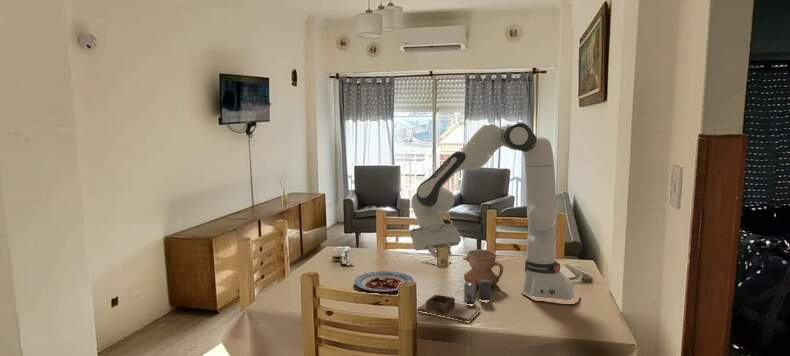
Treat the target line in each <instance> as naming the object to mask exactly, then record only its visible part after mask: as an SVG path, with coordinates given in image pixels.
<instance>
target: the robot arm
mask: <svg viewBox="0 0 790 356" xmlns="http://www.w3.org/2000/svg"><path fill="white" fill-rule="evenodd" d="M501 147H506V148H507V149H510V150H514V151H520V152H522V153H523V155H524V166H525V167H524V168H525V169H524V170H525V183H526V184H525V186H526V188H525V189H526V192H525V193H526V194H525V195H526V218H527V222H528V223H527V224H528V227H527V238H526V239H527V240H526V259H525V261H524V273H525V276H524V281H523V285H522V289H521V291H522V290H523V292H524V293H526V294H528V295H530V296H535V297H543V298H555V299H563V300H570V299H572V298H573V297H574V292H575V287H574V283H573V281H572V280H571V279H570V278H569V277H568V276H566V275H565V274H564V273H563V272H562V271H561V262H557V261H556V245H557V244H556V243H557V223H558V206H557V196H556V193H557V192H556V176H555V175H556V173H555V159H554V158H555V157H554V153H553V148H552V144H551V141H550V140H549V139H547V138H546V137H543V136H536V134H535V133H534V131H532V129H531V128H530V126H529V125H528V124H527V123H525V122H522V121H511V122H510V123H508V124H505V125H503V126H501V127H500V126H498V125H497V124H494V123H492V122H491V123H489V122H487V123H485V124H483V125H482V126H481V127H480V128H479V129H478V130H477V131H476V132H475V133H474V134H473V135H472V136H471V138H470V139H469V140H468V141H467V143H465V145H463V147H461V148H460V149H459V150H458V151H455V152H453V153H452V154H451V155H449V157H448V158H446V160H444V162H443V163H442V164H441V165H440V166H439V167H438V168H437V169H436V170H435V171H434V173H432V175H431V176H429V177H428V178H426V179H425V180H424V181H422V182H421V183H420V184H419V186H418V187H417V189H416V193H414V194H413V195H412V198H411V207H412V211H413V213H414V216H415V217H416V219H417V220H418V221H417V222H418V227H417V228H412V229H410V230H409V236H410V238H411V241H412V247H413V249H414V250H416V251H424V250H427V251H428V252H429V253H430V254H431V255H432V257H434V258H437V257H438V256H439V255H438V252H437V251H436V250H435V249H437V246H447V247H448V257H451V256H452V251H451V248H452V247H454V246H455V247H456V246H459V244H460V243H461V241H462V237H461V235H460V233H459V231H458V229H457V228H456V227H455V226H454V225H453V224H454V222H453V220H451V219H447V218H442V217H440V215H443V214H445V213H447V212H448V211H451V209H452V208H453V207H454V205H455V202H456V201H455V200H456V199H455V195H454V193H453V192H452V191H450V190H449V189H447V188H446V187H444V185H445V184H447V182H448V181H449V180H450V179H451V178H452V177H453V176H454V175H455V174H456V173H458V172H460V171H464V170H478V169H481V168H483V166H485V165H486V164H487V163H488V161H490V159H491V158H492V157H493V155H494V154H495V152H497V150H499V149H500V148H501Z"/></svg>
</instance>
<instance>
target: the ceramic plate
mask: <svg viewBox="0 0 790 356" xmlns="http://www.w3.org/2000/svg"><path fill="white" fill-rule="evenodd" d="M402 281H410V282H414V283H415V279H414V277H413V276H411V275H409V274H406V273H404V272H403V273H402V272H399V271H393V270H392V271H391V270H388V271H387V270H383V271H382V270H381V271H380V270H378V271H371V272H370V271H369V272H367V273H363V274H361V275H359V276H357V277H355V279H354V284H355V286H357V287H358V288H360V289H363V290H367V291H371V292H372V291H373V292H382V293H383V292H394V291H398V290H397V289H398V285H399V283H400V282H402Z"/></svg>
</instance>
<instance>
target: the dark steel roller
mask: <svg viewBox="0 0 790 356" xmlns="http://www.w3.org/2000/svg"><path fill="white" fill-rule="evenodd" d="M463 288H464V289H463V290H464V291H463V296H464V297H463V303H464V302H465V303H467V304H474V303H475V302H476V303H477V301H476V298H477V296H476V295H477V294H476V293H477V292H476V291H477V290H476V289H477V287H476V284H475V283H473V282H466V281H465V283H464V286H463Z"/></svg>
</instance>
